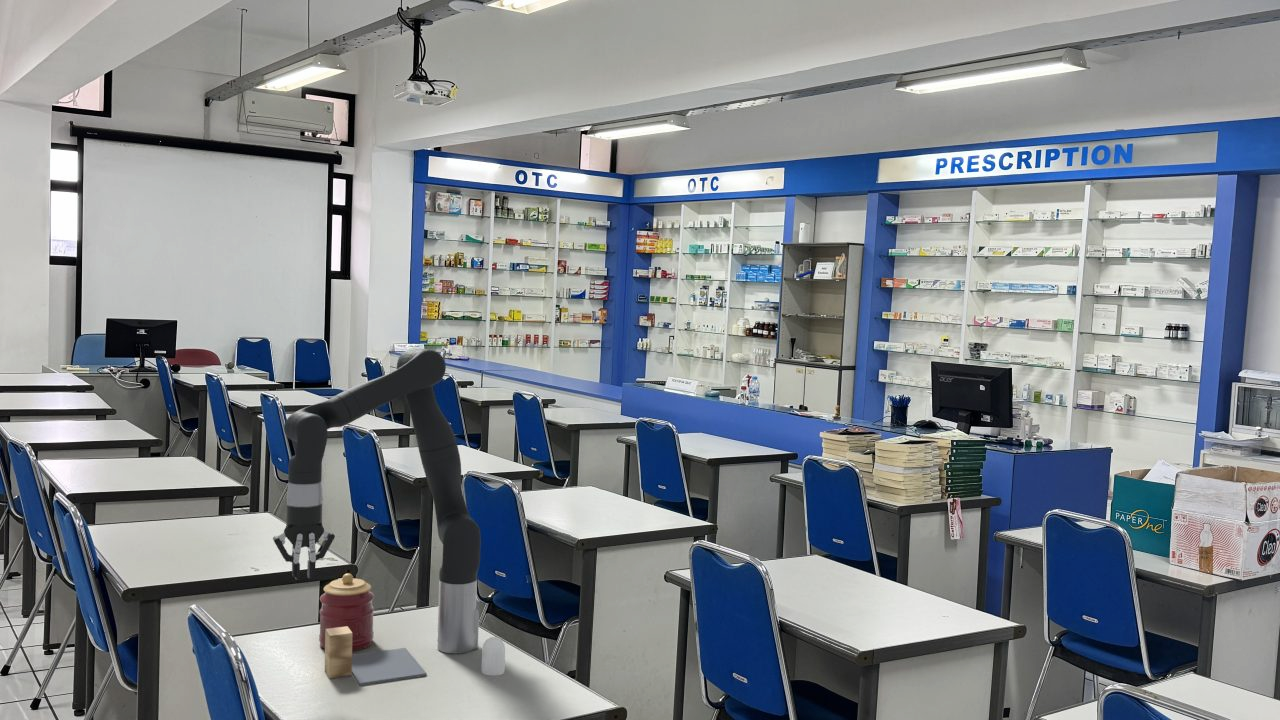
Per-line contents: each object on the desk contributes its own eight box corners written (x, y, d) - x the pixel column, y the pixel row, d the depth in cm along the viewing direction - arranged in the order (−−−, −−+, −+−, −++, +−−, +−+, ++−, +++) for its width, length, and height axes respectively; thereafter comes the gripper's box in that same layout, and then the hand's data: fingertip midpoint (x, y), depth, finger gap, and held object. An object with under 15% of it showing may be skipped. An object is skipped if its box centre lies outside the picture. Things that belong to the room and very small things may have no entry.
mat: (405, 650, 249) (405, 647, 249) (426, 675, 233) (426, 673, 233) (342, 658, 241) (342, 656, 241) (359, 685, 226) (359, 683, 226)
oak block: (346, 668, 236) (347, 626, 235) (351, 675, 231) (352, 632, 231) (324, 671, 233) (325, 628, 233) (329, 679, 229) (329, 635, 228)
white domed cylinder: (508, 673, 236) (509, 639, 236) (486, 676, 234) (487, 642, 233) (499, 665, 241) (500, 632, 240) (478, 669, 238) (478, 635, 238)
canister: (376, 634, 259) (377, 566, 258) (369, 652, 246) (371, 581, 245) (323, 635, 257) (325, 566, 256) (314, 653, 244) (315, 581, 243)
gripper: (333, 496, 232) (331, 571, 233) (269, 500, 226) (268, 577, 227) (340, 503, 226) (338, 579, 227) (274, 507, 219) (273, 586, 220)
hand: (303, 578), depth 227 cm, fingers closed
